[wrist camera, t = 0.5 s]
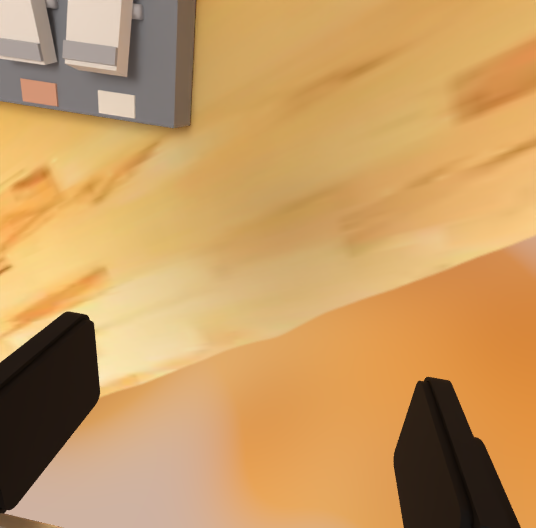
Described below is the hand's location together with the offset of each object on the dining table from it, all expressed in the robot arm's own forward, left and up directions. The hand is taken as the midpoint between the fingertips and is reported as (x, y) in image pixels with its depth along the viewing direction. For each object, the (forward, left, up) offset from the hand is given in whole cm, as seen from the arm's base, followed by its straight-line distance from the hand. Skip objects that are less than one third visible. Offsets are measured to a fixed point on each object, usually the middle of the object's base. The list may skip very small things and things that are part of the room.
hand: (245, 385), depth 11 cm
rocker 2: (-12, -17, -22) cm, 30 cm away
